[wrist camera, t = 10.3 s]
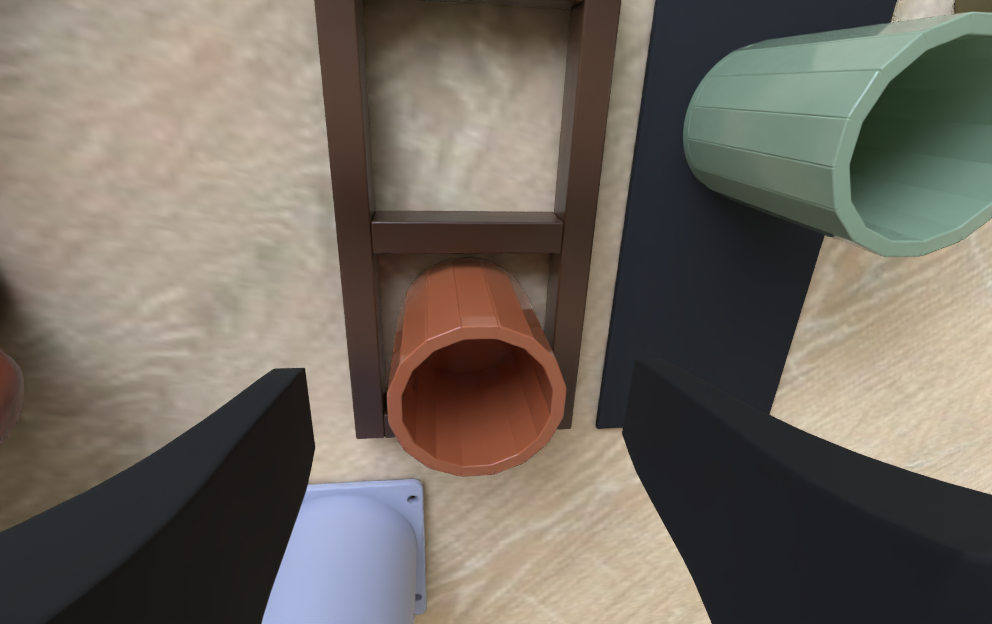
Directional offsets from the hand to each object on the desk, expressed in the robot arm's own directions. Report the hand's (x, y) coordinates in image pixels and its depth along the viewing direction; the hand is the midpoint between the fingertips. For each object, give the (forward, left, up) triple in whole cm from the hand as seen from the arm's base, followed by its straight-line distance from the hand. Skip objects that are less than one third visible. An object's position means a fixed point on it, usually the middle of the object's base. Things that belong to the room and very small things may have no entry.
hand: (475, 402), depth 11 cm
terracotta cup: (-3, -1, -10) cm, 11 cm away
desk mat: (+1, -12, -10) cm, 16 cm away
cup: (+5, -11, -10) cm, 16 cm away
